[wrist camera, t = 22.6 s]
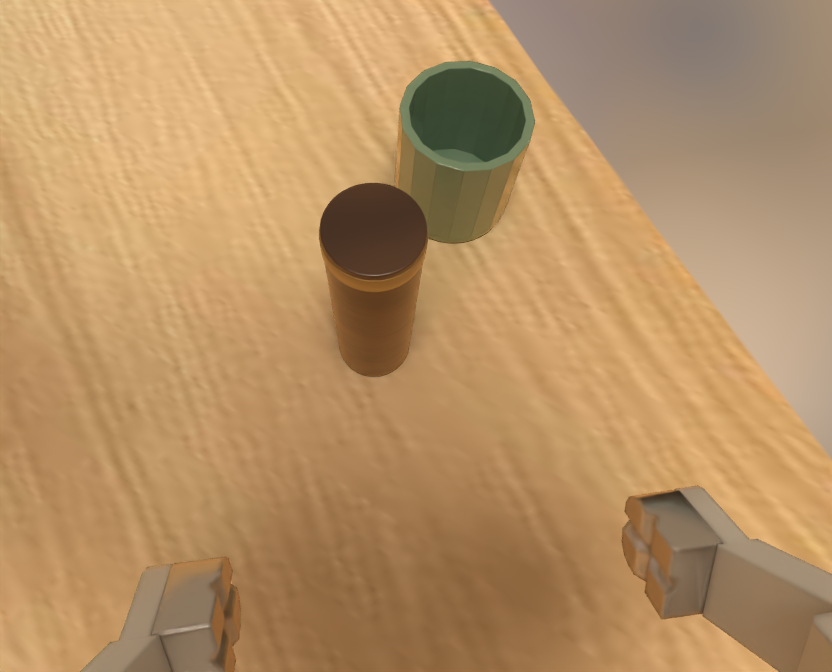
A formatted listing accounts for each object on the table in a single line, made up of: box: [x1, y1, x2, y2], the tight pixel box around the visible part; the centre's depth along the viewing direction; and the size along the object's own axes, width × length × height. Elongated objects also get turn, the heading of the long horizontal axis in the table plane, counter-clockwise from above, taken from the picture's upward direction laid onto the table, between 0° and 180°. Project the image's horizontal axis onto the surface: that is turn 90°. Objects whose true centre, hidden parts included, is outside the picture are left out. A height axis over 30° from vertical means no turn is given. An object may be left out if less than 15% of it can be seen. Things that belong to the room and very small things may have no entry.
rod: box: [319, 183, 428, 376], centre depth 28 cm, size 4×4×13 cm
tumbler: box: [395, 61, 535, 243], centre depth 35 cm, size 7×7×8 cm
